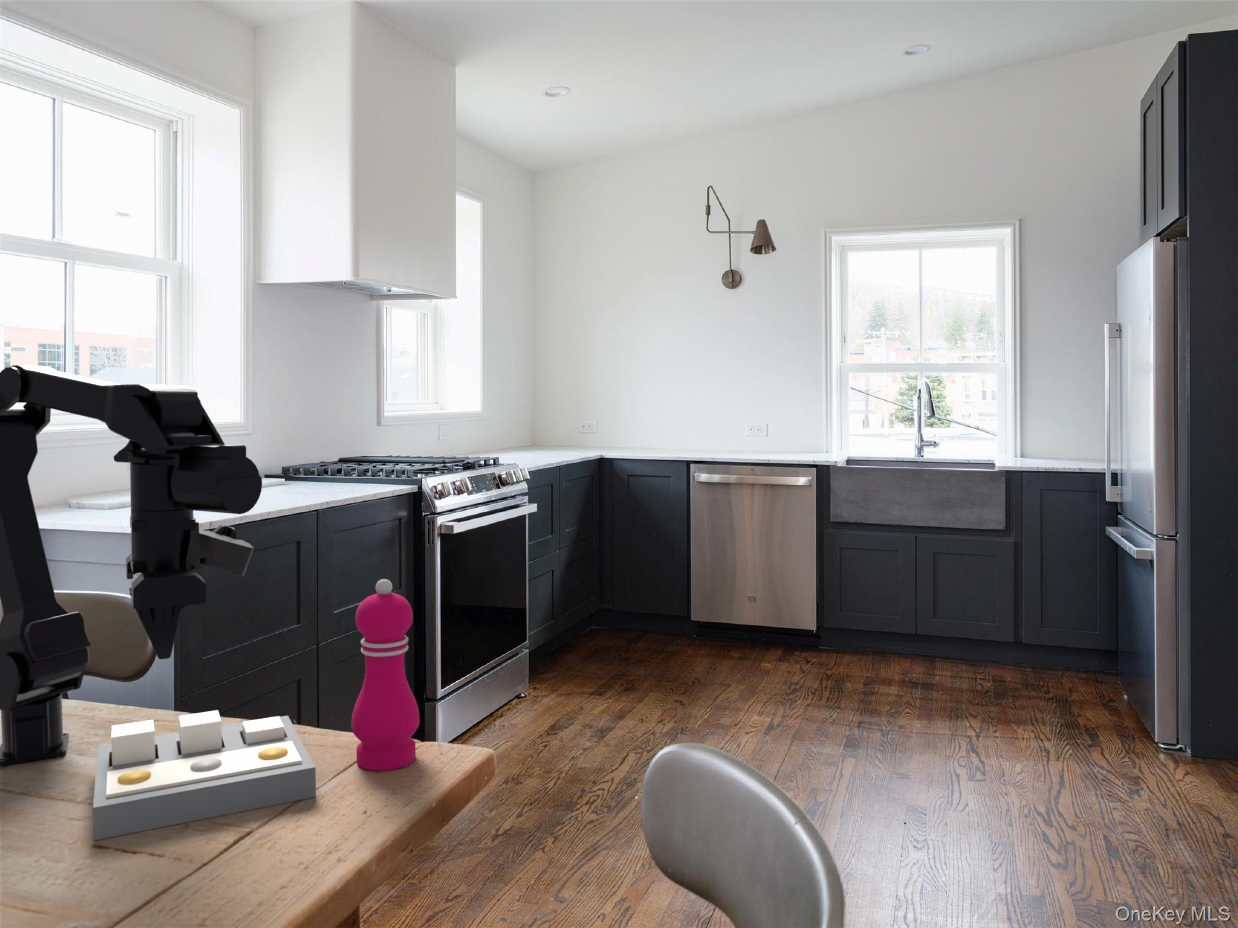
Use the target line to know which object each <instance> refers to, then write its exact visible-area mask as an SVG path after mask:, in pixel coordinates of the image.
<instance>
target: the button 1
mask: <svg viewBox="0 0 1238 928" xmlns="http://www.w3.org/2000/svg"><path fill="white" fill-rule="evenodd" d="M154 723H155V721H154V719H148V720H142V721H136V722H127V723H121V724H115V725H114V724H113V725H111V736H110V739H111V742H110V743H112V766H117V765H123V764H129V763H135V762H141V761H147V760H153V759H155V736H156V735H155V734H156V733H155V724H154Z"/></svg>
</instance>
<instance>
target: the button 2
mask: <svg viewBox="0 0 1238 928" xmlns="http://www.w3.org/2000/svg"><path fill="white" fill-rule="evenodd" d="M280 717H281V716H280V715H277V716H270V717H264V718H258V719H251V720H246V721H241V723H242V734H243V743H244V744H250V743H256V742H262V741H268V740H274V739H280V738H284V725H283V723H282V721H281V719H280Z"/></svg>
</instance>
